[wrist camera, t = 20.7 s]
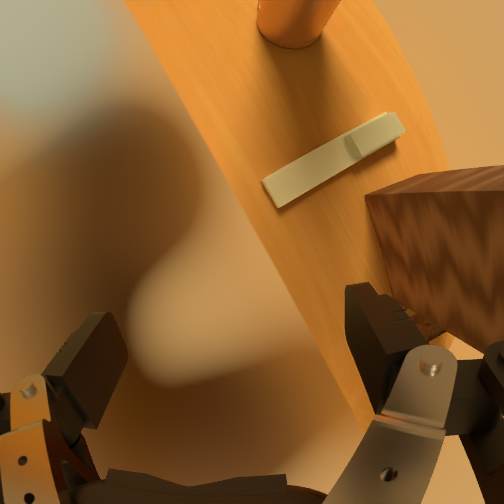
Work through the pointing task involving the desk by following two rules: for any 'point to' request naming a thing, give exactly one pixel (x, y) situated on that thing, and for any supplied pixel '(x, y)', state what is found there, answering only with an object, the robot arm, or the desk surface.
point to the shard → (425, 326)
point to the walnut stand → (447, 249)
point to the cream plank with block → (332, 158)
